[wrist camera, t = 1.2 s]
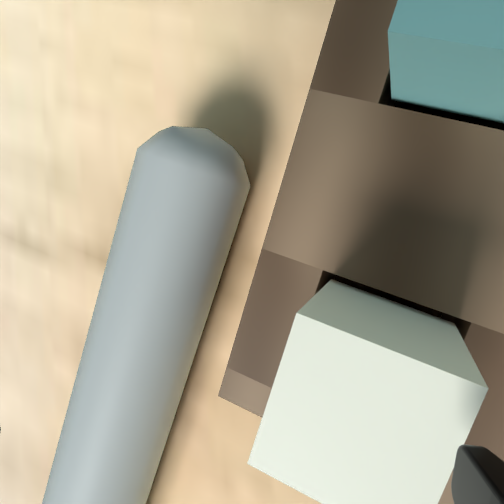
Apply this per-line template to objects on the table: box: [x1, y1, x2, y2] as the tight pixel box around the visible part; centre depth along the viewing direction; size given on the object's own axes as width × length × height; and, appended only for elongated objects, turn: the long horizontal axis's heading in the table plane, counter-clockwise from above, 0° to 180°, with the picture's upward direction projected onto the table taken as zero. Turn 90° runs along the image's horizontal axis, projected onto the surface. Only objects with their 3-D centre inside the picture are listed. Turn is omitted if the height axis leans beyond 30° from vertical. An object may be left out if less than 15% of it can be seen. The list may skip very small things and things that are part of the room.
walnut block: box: [218, 0, 504, 504], centre depth 14 cm, size 9×17×5 cm, turn 162°
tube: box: [42, 126, 250, 504], centre depth 20 cm, size 5×5×25 cm
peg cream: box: [247, 279, 489, 504], centre depth 11 cm, size 4×4×5 cm
